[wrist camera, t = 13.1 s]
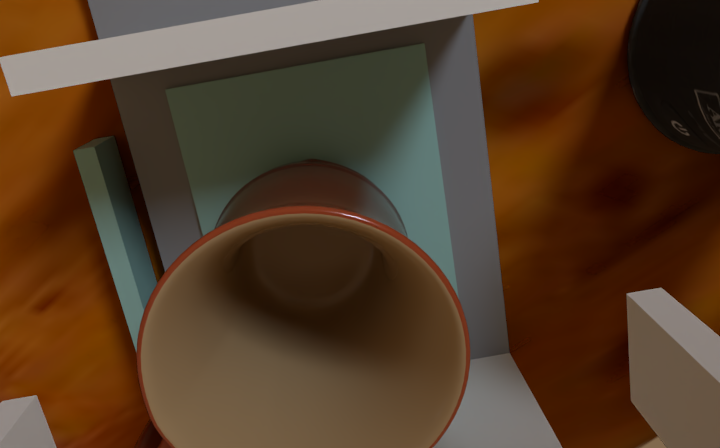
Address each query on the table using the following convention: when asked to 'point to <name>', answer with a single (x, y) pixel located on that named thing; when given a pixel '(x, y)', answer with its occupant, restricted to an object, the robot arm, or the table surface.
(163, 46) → the rack
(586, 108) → the table surface
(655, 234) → the table surface
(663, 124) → the milk frother
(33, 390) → the table surface
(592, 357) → the table surface
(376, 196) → the mug
